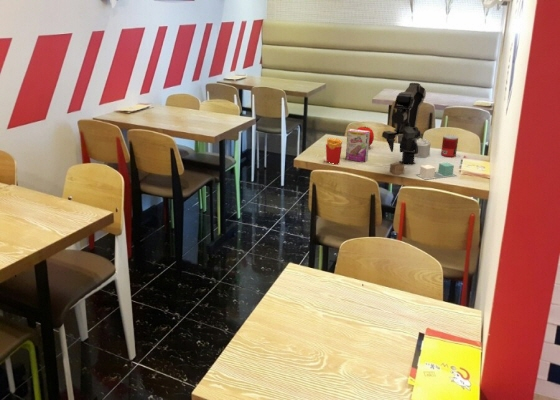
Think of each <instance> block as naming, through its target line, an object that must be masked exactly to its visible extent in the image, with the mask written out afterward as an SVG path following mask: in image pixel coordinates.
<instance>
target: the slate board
mask: <svg viewBox="0 0 560 400" xmlns="http://www.w3.org/2000/svg"><path fill="white" fill-rule="evenodd" d="M415 176H416V177H419V178H420V179H422V180H424V181H430V180H437V179H445V178H446V179H447V178H454V177H457V175H456V174H454V173H453V175H449V176H443V175H441V174H439V173H438V171H435V174H434V178H427V179H425V178H423V177H422V176H420V173H417V174H415Z"/></svg>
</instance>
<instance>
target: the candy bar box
mask: <svg viewBox="0 0 560 400" xmlns="http://www.w3.org/2000/svg"><path fill="white" fill-rule="evenodd" d="M369 136H370V131H364V130H357V129H354V128H349V129H348V130H347V136H346V149H345V152H346V153H345V160H347V161H353V162H359V163H366V162H367V161H369V160H368V157H369V148H370V146H369Z"/></svg>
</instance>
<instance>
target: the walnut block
mask: <svg viewBox="0 0 560 400" xmlns="http://www.w3.org/2000/svg"><path fill="white" fill-rule="evenodd" d="M389 173H391V174H393V175H395V176H396V175H404V173H405V165H404V164H402V163H400V162H394V163H390V165H389Z"/></svg>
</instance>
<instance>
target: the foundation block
mask: <svg viewBox="0 0 560 400" xmlns="http://www.w3.org/2000/svg"><path fill="white" fill-rule="evenodd" d="M435 172H436V167H434V166H433V165H431V164H425V165H420V169H419V174H420V176H422V177H423V178H425V179H427V178H434V174H435Z"/></svg>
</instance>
